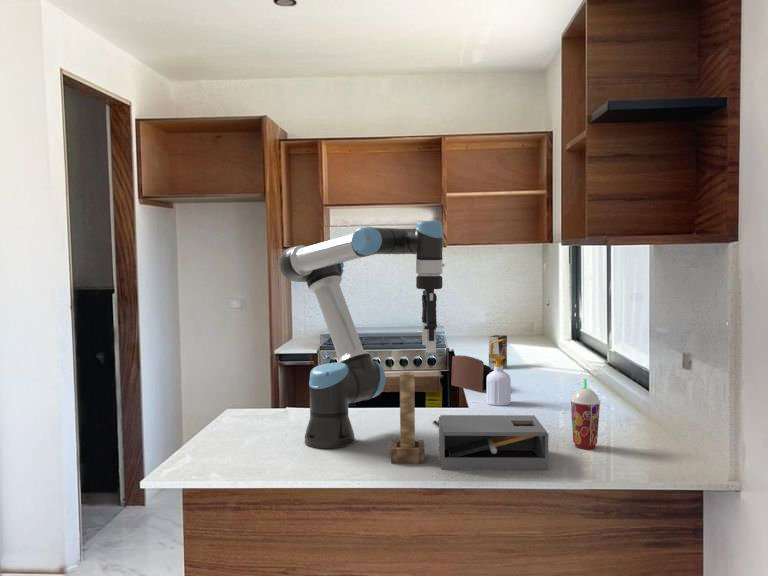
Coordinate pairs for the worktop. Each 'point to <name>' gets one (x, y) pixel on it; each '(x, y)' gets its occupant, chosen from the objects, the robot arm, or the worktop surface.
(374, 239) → the robot arm
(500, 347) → the coffee box
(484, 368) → the letter holder
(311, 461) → the worktop surface
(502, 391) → the soap bottle
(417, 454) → the square wooden socket
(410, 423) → the light wood square bar
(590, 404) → the smoothie
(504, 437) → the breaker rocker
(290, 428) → the worktop surface
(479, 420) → the box
